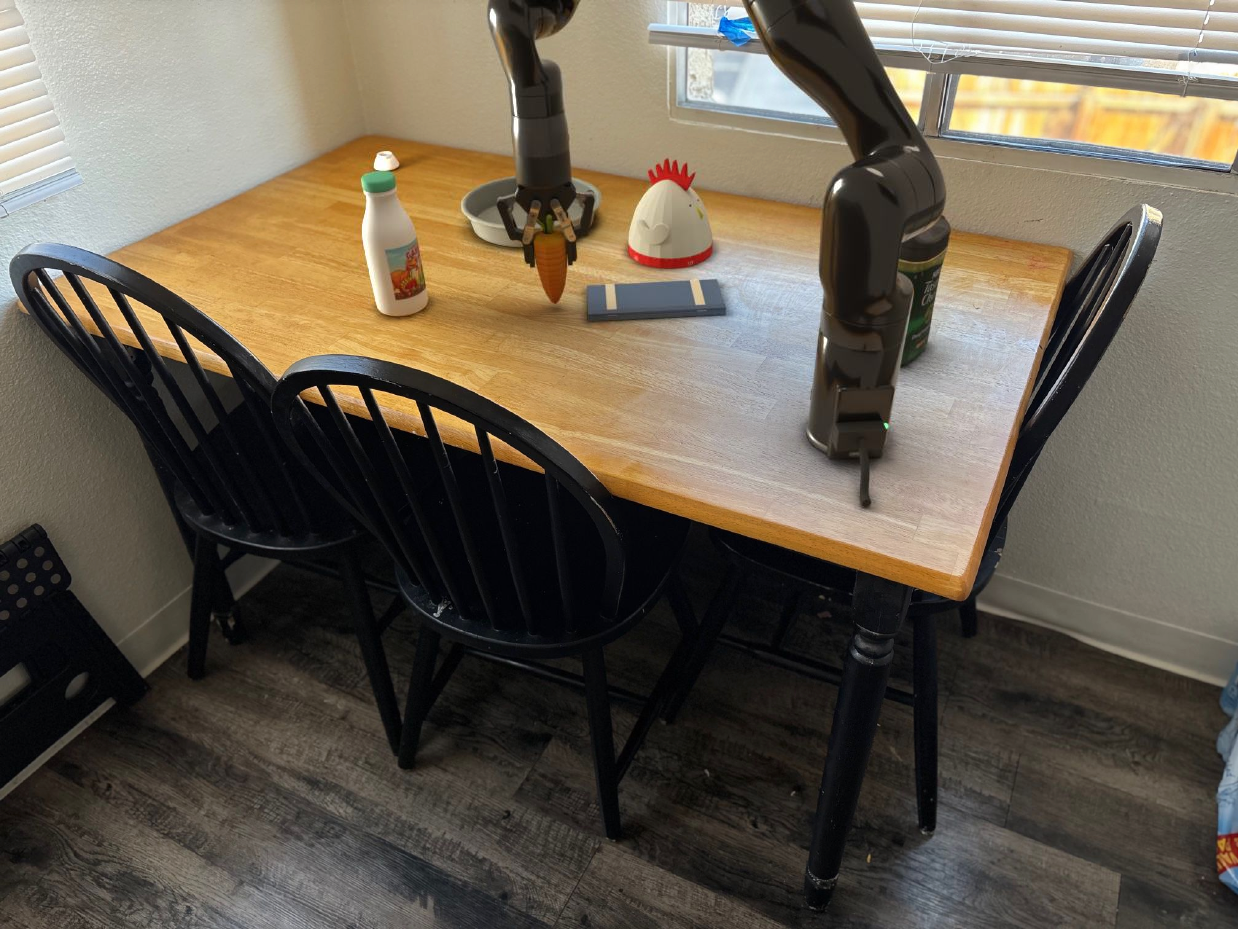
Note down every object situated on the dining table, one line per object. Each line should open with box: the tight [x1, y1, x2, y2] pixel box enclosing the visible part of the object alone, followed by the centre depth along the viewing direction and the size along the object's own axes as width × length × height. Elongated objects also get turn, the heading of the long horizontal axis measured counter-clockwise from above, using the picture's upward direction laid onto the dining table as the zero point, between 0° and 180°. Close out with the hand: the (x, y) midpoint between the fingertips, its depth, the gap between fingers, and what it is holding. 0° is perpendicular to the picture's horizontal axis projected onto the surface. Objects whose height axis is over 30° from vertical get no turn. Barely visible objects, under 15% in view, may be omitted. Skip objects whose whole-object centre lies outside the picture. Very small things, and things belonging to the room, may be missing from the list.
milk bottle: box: [360, 170, 429, 317], centre depth 130 cm, size 8×8×20 cm
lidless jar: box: [373, 150, 400, 172], centre depth 184 cm, size 5×3×5 cm
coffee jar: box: [898, 214, 952, 365], centre depth 116 cm, size 10×8×19 cm
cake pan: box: [460, 175, 603, 248], centre depth 158 cm, size 25×25×4 cm
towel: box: [586, 278, 727, 322], centre depth 134 cm, size 10×20×1 cm, turn 93°
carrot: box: [533, 214, 568, 305], centre depth 129 cm, size 5×5×15 cm
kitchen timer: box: [628, 157, 714, 269], centre depth 145 cm, size 14×14×15 cm
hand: (551, 263), depth 130 cm, fingers closed on carrot, 5 cm apart
